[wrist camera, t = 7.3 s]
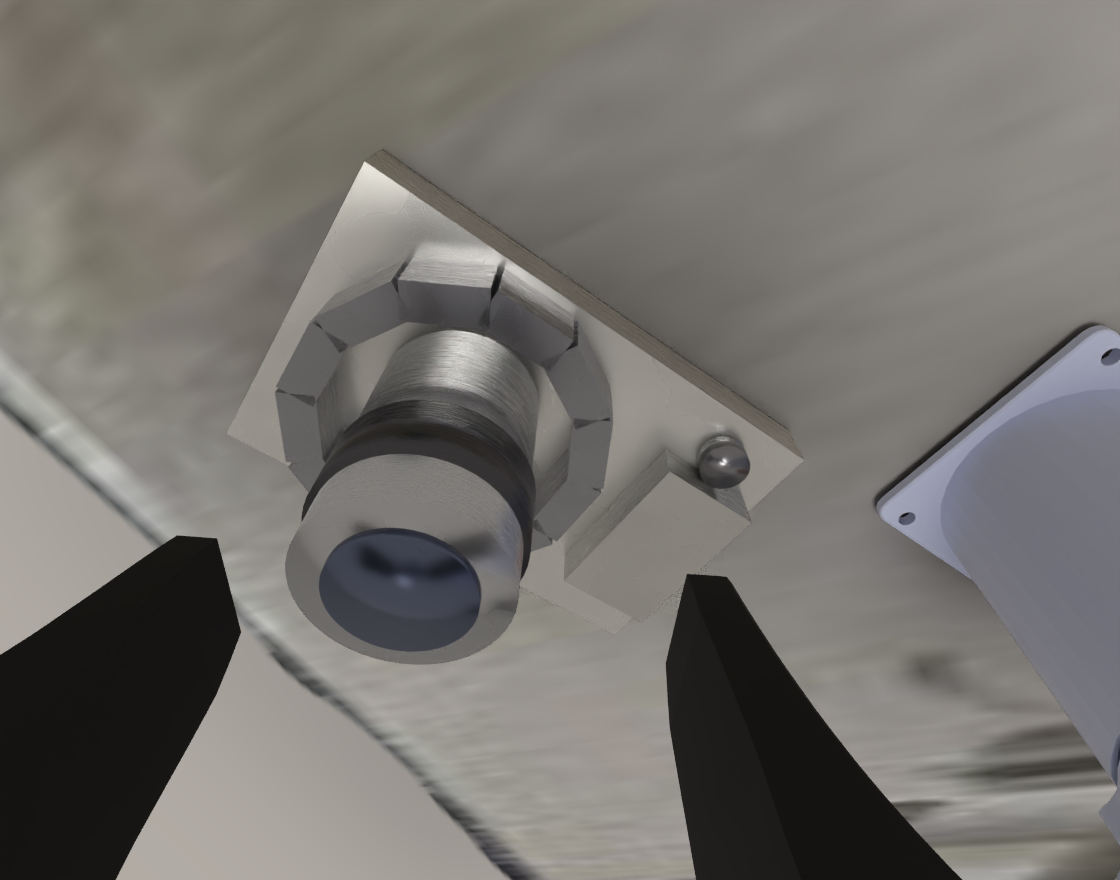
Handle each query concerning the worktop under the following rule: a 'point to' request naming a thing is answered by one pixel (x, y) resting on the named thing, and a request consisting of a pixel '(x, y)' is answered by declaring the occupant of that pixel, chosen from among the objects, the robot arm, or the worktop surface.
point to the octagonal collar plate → (562, 385)
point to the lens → (424, 506)
